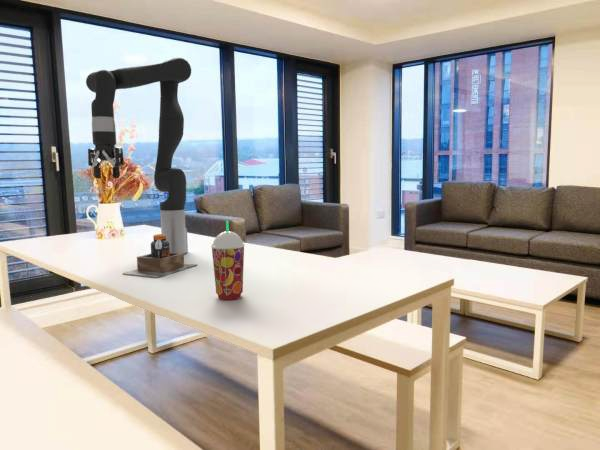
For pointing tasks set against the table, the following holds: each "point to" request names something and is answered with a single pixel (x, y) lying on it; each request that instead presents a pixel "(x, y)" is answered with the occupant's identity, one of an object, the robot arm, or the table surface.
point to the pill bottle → (160, 246)
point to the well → (159, 265)
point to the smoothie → (228, 264)
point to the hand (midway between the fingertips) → (106, 178)
